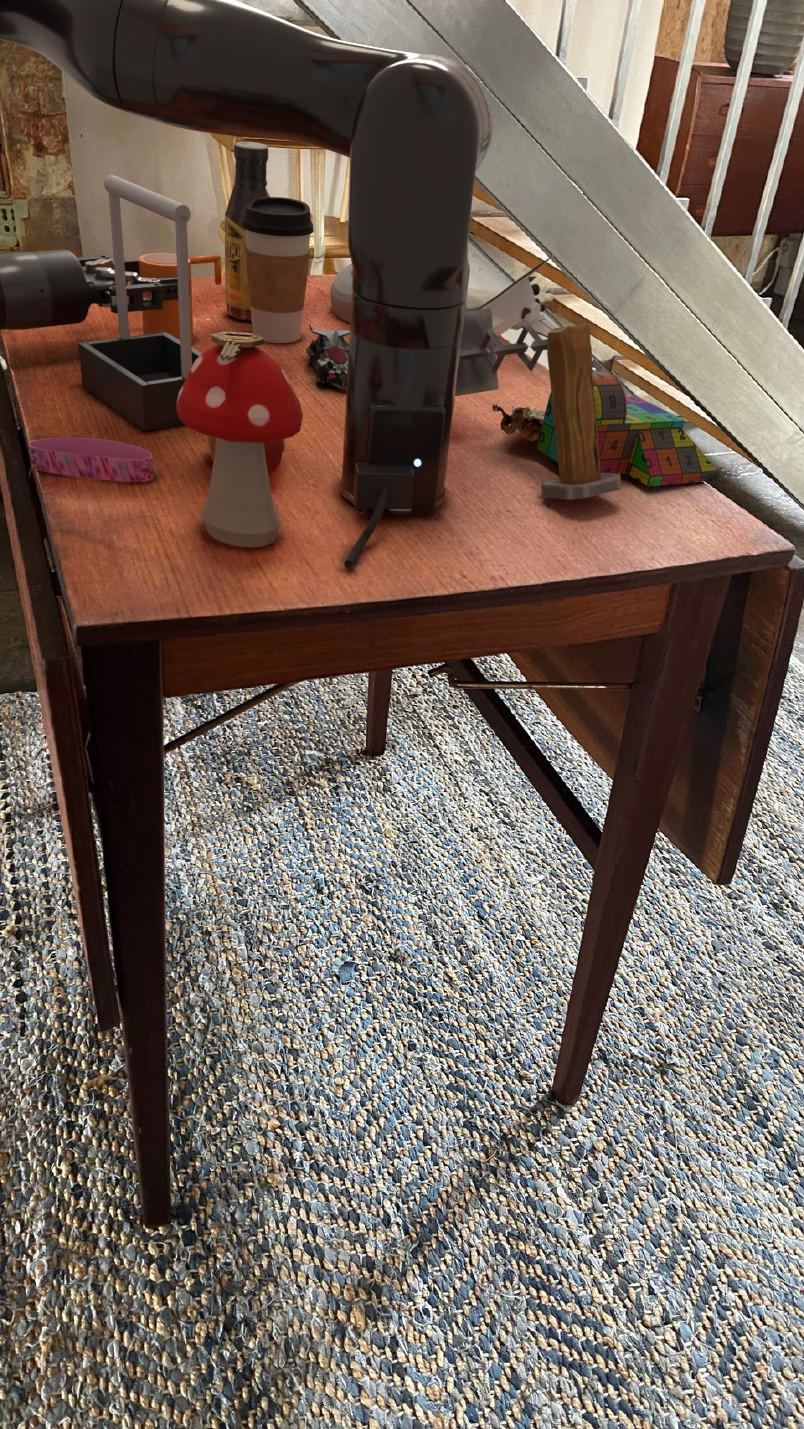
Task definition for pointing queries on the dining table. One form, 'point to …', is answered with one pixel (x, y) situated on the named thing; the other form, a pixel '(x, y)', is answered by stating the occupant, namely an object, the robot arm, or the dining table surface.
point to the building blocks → (636, 439)
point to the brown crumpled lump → (522, 421)
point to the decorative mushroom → (240, 438)
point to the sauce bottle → (245, 189)
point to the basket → (148, 365)
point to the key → (235, 342)
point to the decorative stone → (342, 293)
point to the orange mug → (169, 315)
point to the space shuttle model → (519, 307)
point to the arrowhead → (484, 295)
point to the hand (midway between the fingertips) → (170, 277)
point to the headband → (92, 459)
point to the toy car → (330, 357)
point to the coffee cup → (277, 265)
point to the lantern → (568, 392)
